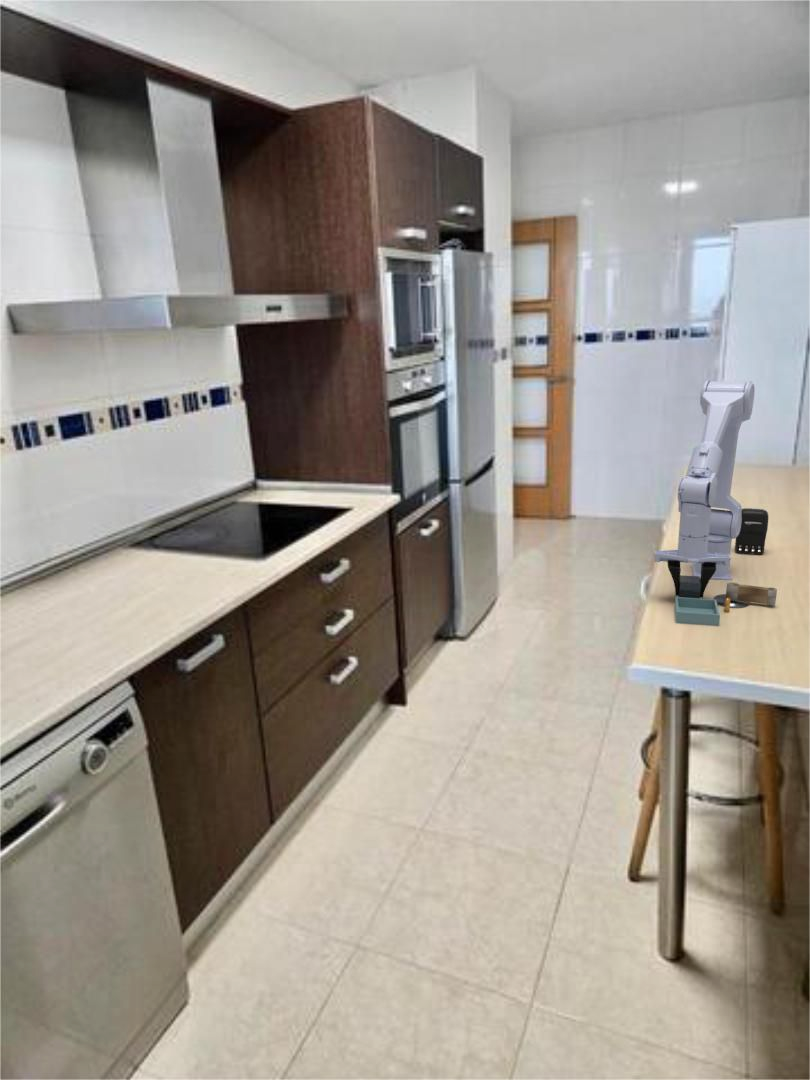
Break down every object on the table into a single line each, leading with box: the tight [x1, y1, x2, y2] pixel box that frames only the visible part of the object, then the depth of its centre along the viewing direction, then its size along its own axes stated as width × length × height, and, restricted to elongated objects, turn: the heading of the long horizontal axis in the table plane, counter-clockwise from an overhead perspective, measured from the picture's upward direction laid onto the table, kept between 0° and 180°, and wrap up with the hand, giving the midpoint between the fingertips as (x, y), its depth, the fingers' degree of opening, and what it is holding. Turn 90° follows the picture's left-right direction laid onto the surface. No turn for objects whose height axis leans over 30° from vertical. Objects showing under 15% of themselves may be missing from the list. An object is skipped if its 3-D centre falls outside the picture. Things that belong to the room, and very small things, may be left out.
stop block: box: [677, 574, 701, 599], centre depth 147 cm, size 4×4×5 cm
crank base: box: [713, 593, 751, 614], centre depth 145 cm, size 10×7×3 cm
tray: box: [674, 596, 721, 627], centre depth 140 cm, size 8×8×2 cm
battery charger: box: [734, 507, 769, 556], centre depth 172 cm, size 7×4×11 cm, turn 67°
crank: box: [725, 582, 778, 606], centre depth 144 cm, size 9×2×3 cm, turn 62°
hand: (688, 594), depth 148 cm, fingers closed on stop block, 4 cm apart
